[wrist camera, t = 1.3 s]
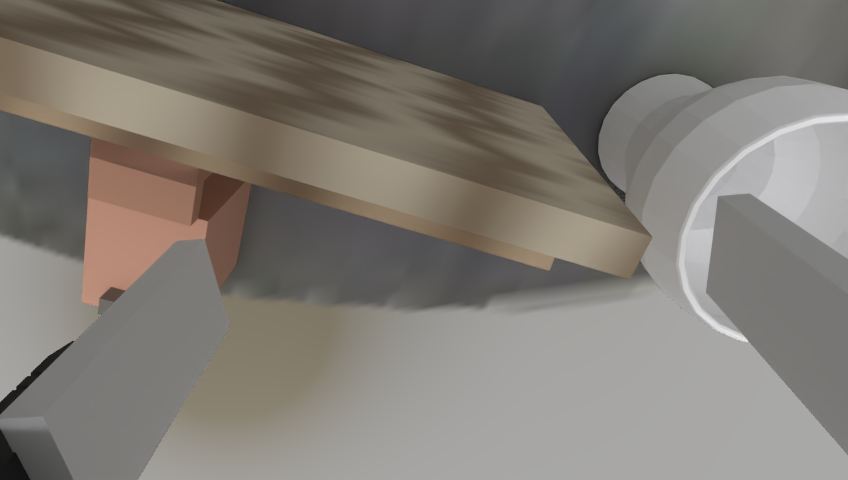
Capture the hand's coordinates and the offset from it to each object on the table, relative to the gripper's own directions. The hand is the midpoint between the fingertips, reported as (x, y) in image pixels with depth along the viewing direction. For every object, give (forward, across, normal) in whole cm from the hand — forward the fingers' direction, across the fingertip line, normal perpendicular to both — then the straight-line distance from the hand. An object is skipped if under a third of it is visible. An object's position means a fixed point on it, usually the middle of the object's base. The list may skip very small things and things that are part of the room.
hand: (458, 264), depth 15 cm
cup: (+21, +13, -3) cm, 25 cm away
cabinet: (+21, -16, -4) cm, 27 cm away
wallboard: (+21, -6, +2) cm, 22 cm away
